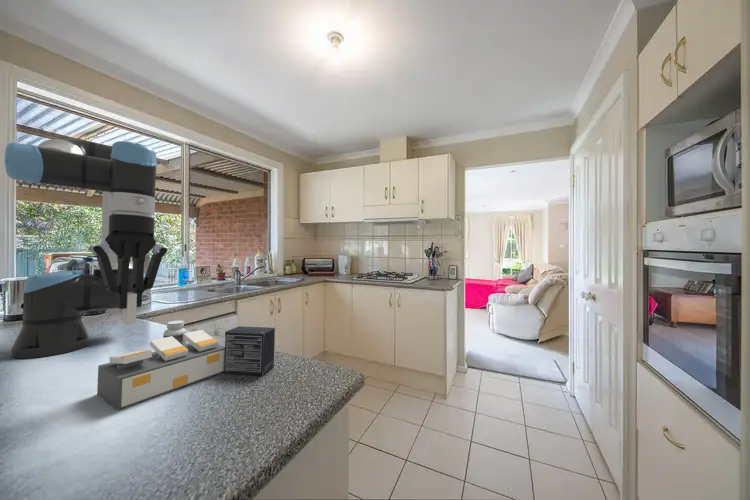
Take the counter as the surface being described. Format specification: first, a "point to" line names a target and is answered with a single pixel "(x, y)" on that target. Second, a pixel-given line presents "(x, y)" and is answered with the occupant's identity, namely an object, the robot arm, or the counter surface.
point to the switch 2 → (168, 348)
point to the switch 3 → (200, 340)
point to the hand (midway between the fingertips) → (129, 322)
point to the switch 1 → (131, 357)
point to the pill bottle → (176, 331)
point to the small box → (249, 350)
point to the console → (156, 375)
